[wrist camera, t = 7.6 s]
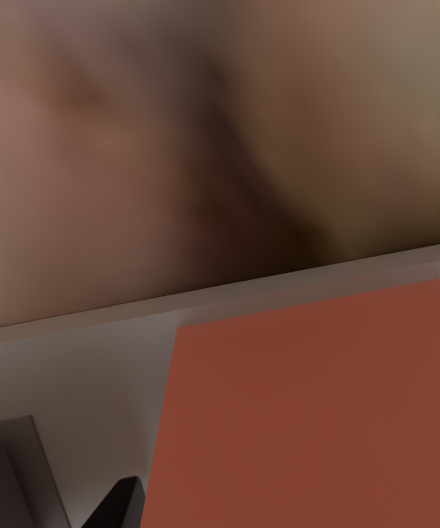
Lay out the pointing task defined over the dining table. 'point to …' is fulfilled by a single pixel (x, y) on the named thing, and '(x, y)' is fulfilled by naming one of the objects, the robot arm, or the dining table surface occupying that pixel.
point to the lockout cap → (304, 417)
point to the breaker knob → (11, 497)
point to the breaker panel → (134, 377)
